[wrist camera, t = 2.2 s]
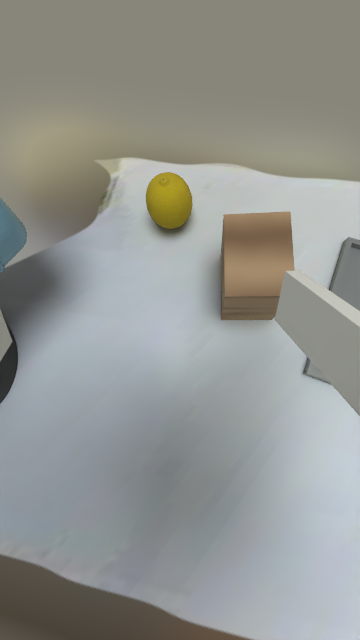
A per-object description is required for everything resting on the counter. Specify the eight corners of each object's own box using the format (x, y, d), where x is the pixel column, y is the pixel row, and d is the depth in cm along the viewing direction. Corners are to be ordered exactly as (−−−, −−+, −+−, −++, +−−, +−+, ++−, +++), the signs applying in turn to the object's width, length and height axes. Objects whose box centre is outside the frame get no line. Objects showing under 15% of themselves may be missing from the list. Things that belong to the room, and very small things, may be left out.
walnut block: (271, 319, 33) (296, 295, 24) (221, 319, 34) (225, 296, 24) (268, 257, 35) (290, 211, 25) (220, 259, 36) (223, 214, 26)
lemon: (173, 195, 38) (163, 148, 30) (202, 218, 37) (200, 176, 29) (145, 222, 38) (128, 182, 30) (173, 247, 37) (163, 212, 29)
